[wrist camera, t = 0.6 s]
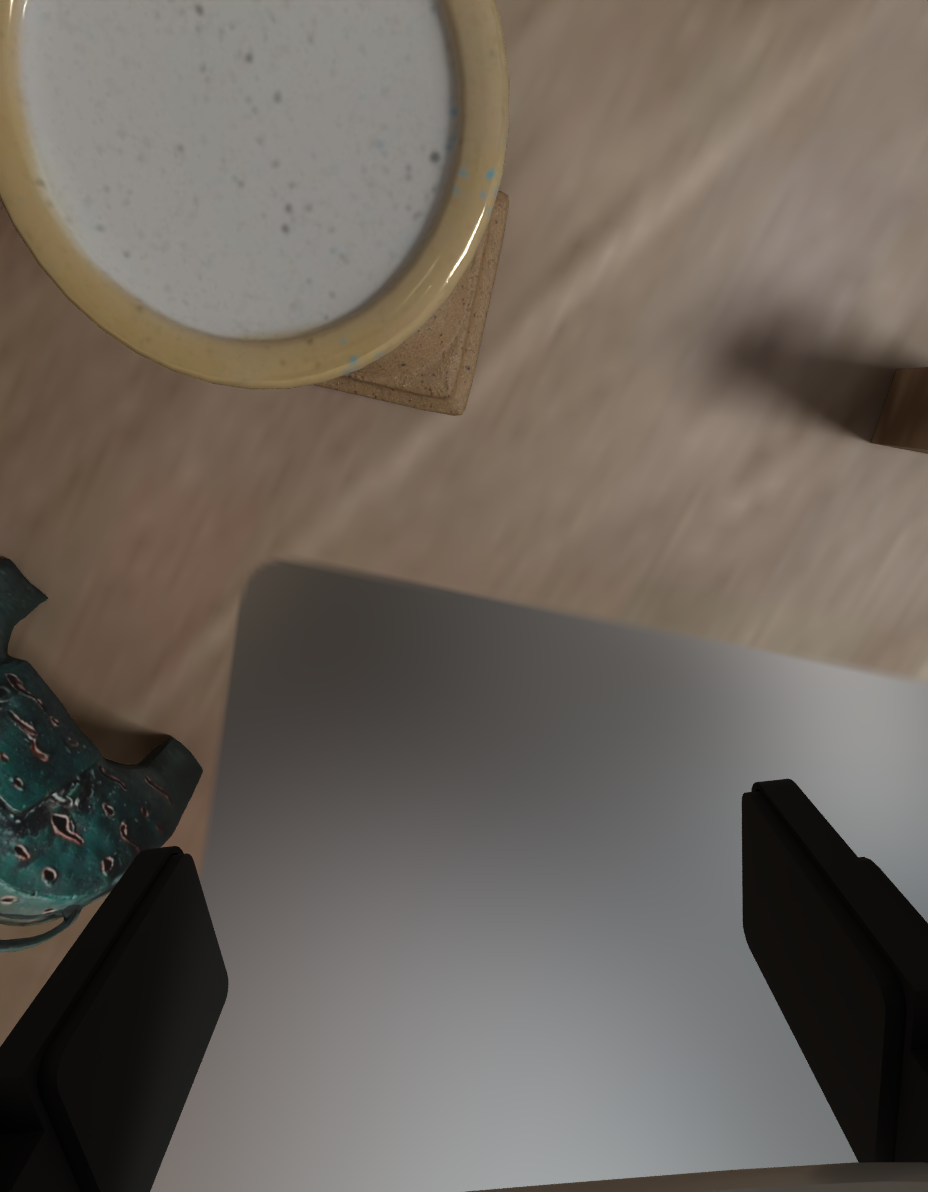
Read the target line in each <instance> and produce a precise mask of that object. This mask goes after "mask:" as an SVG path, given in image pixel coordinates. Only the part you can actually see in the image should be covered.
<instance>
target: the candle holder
mask: <svg viewBox="0 0 928 1192" xmlns="http://www.w3.org/2000/svg"><path fill="white" fill-rule="evenodd" d="M508 133H509V75H508V67H507V60H506V52H505V44H504V37H503V29H502V23H501V19H500V15H499V12H498V8H497V4H496V1H495V0H0V199H1V201H2V203H3V205H4V207H5V209H6V211H7V213H8V215H9V217H10V219H11V221H12V223H13V225H14V227H15V229H16V230H17V232H18V233H19V235H20V236H21V238H22V239H23V241H24V243H25V244H26V246H27V247H28V249H29V250H30V252H31V253H32V255H33V256H34V258H35V259H36V261H37V262H38V264H39V265H40V267H41V268H42V269H43V270H44V271H45V273H46V274H47V275H48V276H49V277H50V278H51V280H52V281H53V282H54V283H55V284H56V285H57V287H58V288H59V289H60V290H61V291H62V293H63V294H64V295H65V296H66V297H67V298H68V300H69V301H71V302H72V303H73V304H74V305H75V306H76V307H77V308H78V309H79V310H81V311H82V312H83V313H84V314H85V315H86V316H87V317H88V318H89V319H91V320H92V321H93V322H94V323H95V324H96V325H97V326H98V327H99V328H101V329H102V330H103V331H105V332H106V333H108V334H109V335H111V336H112V337H114V338H115V339H116V340H118V341H119V342H121V343H122V344H124V345H125V346H127V347H128V348H130V349H131V350H133V351H134V352H136V353H137V354H140V355H142V356H144V357H146V358H148V359H150V360H152V361H154V362H156V363H158V364H160V365H162V366H164V367H166V368H168V369H170V370H172V371H175V372H178V373H181V374H184V375H187V376H191V377H194V378H197V379H200V380H203V381H206V382H210V383H213V384H219V385H225V386H232V387H239V388H246V389H290V388H295V387H301V386H306V385H311V384H314V385H318V386H322V387H326V388H331V389H335V390H339V391H344V392H348V393H352V394H357V395H361V396H365V397H370V398H374V399H378V400H383V401H387V402H391V403H396V404H400V405H404V406H409V407H413V408H417V409H422V410H426V411H431V412H437V413H442V414H448V415H454V416H455V415H462V413H463V411H464V410H465V408H466V404H467V400H468V396H469V393H470V389H471V385H472V381H473V376H474V372H475V367H476V362H477V358H478V353H479V349H480V344H481V339H482V335H483V330H484V325H485V321H486V316H487V312H488V307H489V302H490V298H491V293H492V288H493V284H494V279H495V274H496V270H497V265H498V261H499V256H500V251H501V247H502V242H503V237H504V231H505V225H506V219H507V213H508V207H509V200H508V195H506V194H505V193H503V192H501V191H498V190H499V187H500V183H501V180H502V176H503V169H504V162H505V155H506V147H507V140H508Z"/></svg>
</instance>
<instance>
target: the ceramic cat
mask: <svg viewBox="0 0 928 1192" xmlns="http://www.w3.org/2000/svg"><path fill="white" fill-rule="evenodd" d="M47 599H48V598H47V597H46V596H45V595H44V594H43V593H42V592H41V591H40V590H38V589H37V588H36V587H34V586H33V585H32V584H31V583H30V582H29V581H28V580H27V579H26V578H25V577H24V576H23V575H22V573H21V572H20V571H19V569H18V568H17V567H16V565H15V564H14V563H13V562H12V561H11V560H9V559H4V560H2V561H0V924H4V925H8V926H30V925H37V924H43V923H47V922H50V921H53V920H57V919H59V918H61V917H64V921H63V922H62V923H61V924H60V925H58V926H57V927H55V928H54V929H52V930H50V931H48V932H46V933H44V934H41V935H38V936H34V937H30V938H21V939H11V940H0V952H16V951H19V950H23V949H26V948H30V947H33V946H36V945H38V944H41V943H43V942H45V941H47V940H49V939H51V938H52V937H54V936H55V935H57V934H58V933H60V932H61V931H63V930H64V929H66V928H67V927H69V926H70V925H71V924H72V923H73V922H74V921H75V920H76V919H77V918H78V916H79V914H80V911H81V909H82V908H83V907H85V906H86V905H88V904H90V903H92V902H94V901H96V900H99V899H100V898H102V897H103V896H105V895H106V894H108V893H109V892H111V891H112V890H113V888H114V887H115V885H116V884H117V883H118V881H119V880H120V878H121V877H122V876H123V874H124V873H125V871H126V870H127V869H128V867H129V866H130V864H131V863H132V862H133V860H134V859H135V857H136V856H137V855H138V854H139V853H140V852H141V851H142V850H145V849H153V848H160V847H161V846H162V845H163V844H164V843H165V842H166V841H167V840H168V839H169V838H170V837H171V836H172V834H173V832H174V831H175V829H176V827H177V825H178V823H179V821H180V819H181V816H182V814H183V812H184V810H185V809H186V807H187V804H188V802H189V800H190V799H191V797H192V794H193V792H194V790H195V787H196V786H197V784H198V782H199V779H200V777H201V775H202V772H203V770H202V768H201V766H200V765H199V763H198V762H197V760H196V759H195V758H194V756H193V755H192V753H191V752H190V751H189V750H188V749H187V748H186V747H185V746H184V745H183V744H182V743H180V742H178V741H177V740H175V739H174V738H169V739H168V740H167V741H166V742H164V743H163V744H162V745H160V746H158V747H157V748H155V749H154V750H153V751H152V752H151V753H150V754H149V755H148V756H146V757H145V758H144V759H143V760H142V761H141V762H140V763H139V764H138V765H124V764H119V763H116V762H113V761H110V760H108V759H105V758H103V757H102V755H101V753H100V751H99V750H98V748H97V747H96V746H95V745H94V743H93V742H92V741H91V740H90V739H88V738H87V737H86V736H85V735H84V734H83V733H82V731H81V730H80V729H79V727H78V726H77V725H76V723H75V722H74V720H73V719H72V718H71V716H70V715H69V714H68V713H67V711H66V709H65V708H64V706H63V704H62V703H61V702H60V701H59V699H58V698H57V697H56V695H55V694H54V693H53V692H52V690H51V689H50V688H49V687H48V685H47V684H46V683H45V682H44V680H43V679H42V678H41V677H40V675H39V674H38V673H37V672H36V671H35V669H34V668H33V667H32V666H31V665H30V664H29V663H28V662H27V661H25V660H20V659H16V658H13V657H11V656H9V655H8V653H7V650H8V642H9V639H10V636H11V632H12V630H13V628H14V626H15V625H16V624H17V623H18V622H19V621H20V620H21V619H23V618H25V617H26V616H27V615H28V614H29V613H30V612H31V611H32V610H34V609H35V608H36V607H37V606H38V605H39V604H41V603H42V602H44V601H45V600H47Z"/></svg>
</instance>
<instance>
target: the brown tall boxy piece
mask: <svg viewBox="0 0 928 1192" xmlns="http://www.w3.org/2000/svg"><path fill="white" fill-rule="evenodd" d="M871 443H874V444H879V445H884V446H890V447H895V448H900V449H906V450H911V451H916V452H921V453H927V454H928V367H926V368H907V369H897V370H896V373H895V376H894V378H893V381H892V384H891V387H890V390H889V393H888V395H887V398H886V401H885V404H884V407H883V410H882V413H881V415H880V418H879V421H878V424H877V427H876V430H875V432H874V435H873V438H872V441H871Z"/></svg>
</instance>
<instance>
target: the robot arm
mask: <svg viewBox="0 0 928 1192" xmlns="http://www.w3.org/2000/svg"><path fill="white" fill-rule="evenodd" d="M742 874H743V875H742V879H743V881H742V886H743V928H744V933H745V937H746V940H747V943H748V946H749V948H750V950H751V952H752V954H753V956H754V958H755V960H756V962H757V964H758V966H759V968H760V970H761V972H762V974H763V976H764V978H765V979H766V982H767V984H768V985H769V987H770V989H771V991H772V993H773V995H774V997H775V999H776V1001H777V1003H778V1005H779V1007H780V1009H781V1011H782V1013H783V1015H784V1017H785V1019H786V1021H787V1023H788V1024H789V1026H790V1029H791V1031H792V1033H793V1035H794V1036H795V1038H796V1040H797V1042H798V1044H799V1046H800V1048H801V1050H802V1052H803V1054H804V1056H805V1058H806V1060H807V1062H808V1064H809V1066H810V1068H811V1070H812V1072H813V1074H814V1076H815V1078H816V1080H817V1082H818V1083H819V1085H820V1087H821V1089H822V1091H823V1093H824V1095H825V1097H826V1099H827V1101H828V1103H829V1105H830V1107H831V1109H832V1111H833V1113H834V1115H835V1117H836V1119H837V1121H838V1123H839V1125H840V1127H841V1129H842V1130H843V1132H844V1134H845V1136H846V1138H847V1140H848V1142H849V1144H850V1146H851V1148H852V1150H853V1152H854V1154H855V1156H856V1158H857V1160H858V1162H859V1163H840V1164H823V1165H807V1166H790V1167H774V1168H756V1169H739V1170H726V1171H713V1172H701V1173H688V1174H676V1175H663V1176H650V1177H638V1178H625V1179H612V1180H601V1181H587V1182H575V1183H563V1184H550V1185H539V1186H526V1187H514V1188H503V1189H492V1190H480V1191H467V1192H928V923H927V922H926V921H925V920H924V918H923V917H922V916H921V915H920V914H919V913H918V912H917V910H916V909H915V908H914V907H913V906H912V905H911V904H910V902H909V901H908V900H907V899H906V898H905V897H904V896H903V894H902V893H901V892H900V891H899V890H898V889H897V887H896V886H895V885H894V884H893V883H892V882H891V881H890V880H889V878H888V877H887V876H886V875H885V874H884V873H883V872H882V871H881V869H880V868H879V867H878V866H877V865H876V864H875V863H874V862H873V861H871V860H870V859H867V858H865V857H857V856H856V854H855V853H854V852H853V851H852V850H851V849H850V847H849V846H848V845H847V844H846V843H845V841H844V840H843V839H842V838H841V837H840V835H839V834H838V833H837V832H836V831H835V830H834V828H833V827H832V826H831V825H830V824H829V822H827V820H826V819H825V818H824V817H823V815H822V814H821V813H820V812H819V811H818V810H817V808H816V807H815V806H814V805H813V804H812V802H811V801H810V800H809V799H808V798H807V796H806V795H805V794H804V793H803V792H802V790H801V789H800V788H799V787H798V786H797V784H796V783H795V782H794V781H792V780H791V779H782V780H773V781H764V782H756V783H754V784H753V786H752V792H747V793H744V794H743V796H742ZM227 992H228V976H227V971H226V969H225V965H224V961H223V958H222V955H221V951H220V948H219V944H218V941H217V938H216V934H215V931H214V928H213V924H212V921H211V918H210V914H209V911H208V908H207V904H206V901H205V898H204V894H203V891H202V887H201V884H200V881H199V877H198V874H197V870H196V867H195V864H194V861H193V858H192V856H191V855H190V854H183V851H182V850H181V849H180V848H179V847H177V846H171V847H162V848H153V849H145V850H142V851H141V852H140V853H139V854H138V855H137V856H136V857H135V859H134V860H133V862H132V863H131V864H130V866H129V867H128V869H127V870H126V871H125V873H124V874H123V876H122V877H121V878H120V880H119V881H118V883H117V884H116V885H115V887H114V888H113V890H112V891H111V892H110V894H109V895H108V897H107V898H106V899H105V901H104V902H103V904H102V905H101V906H100V908H99V909H98V911H97V912H96V913H95V915H94V916H93V918H92V919H91V920H90V922H89V923H88V925H87V926H86V927H85V929H84V930H83V932H82V933H81V935H80V936H79V937H78V939H77V940H76V942H75V943H74V944H73V946H72V947H71V949H70V950H69V951H68V953H67V954H66V956H65V957H64V958H63V960H62V961H61V963H60V964H59V965H58V967H57V968H56V970H55V971H54V972H53V974H52V975H51V977H50V978H49V979H48V981H47V982H46V984H45V985H44V986H43V988H42V989H41V991H40V992H39V993H38V995H37V996H36V998H35V999H34V1000H33V1002H32V1003H31V1005H30V1006H29V1008H28V1009H27V1010H26V1012H25V1013H24V1015H23V1016H22V1017H21V1019H20V1020H19V1022H18V1023H17V1024H16V1026H15V1027H14V1029H13V1030H12V1031H11V1033H10V1034H9V1036H8V1037H7V1038H6V1040H5V1041H4V1043H3V1044H2V1045H1V1047H0V1192H150V1190H151V1188H152V1185H153V1183H154V1180H155V1178H156V1175H157V1173H158V1170H159V1167H160V1165H161V1162H162V1160H163V1157H164V1155H165V1152H166V1150H167V1147H168V1145H169V1142H170V1140H171V1137H172V1135H173V1132H174V1130H175V1127H176V1124H177V1122H178V1120H179V1117H180V1114H181V1112H182V1110H183V1107H184V1104H185V1102H186V1099H187V1097H188V1094H189V1092H190V1089H191V1087H192V1084H193V1082H194V1079H195V1076H196V1074H197V1072H198V1069H199V1066H200V1064H201V1062H202V1059H203V1056H204V1054H205V1051H206V1049H207V1046H208V1044H209V1041H210V1039H211V1036H212V1034H213V1031H214V1029H215V1026H216V1024H217V1021H218V1018H219V1016H220V1014H221V1011H222V1008H223V1006H224V1003H225V1001H226V997H227Z"/></svg>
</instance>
